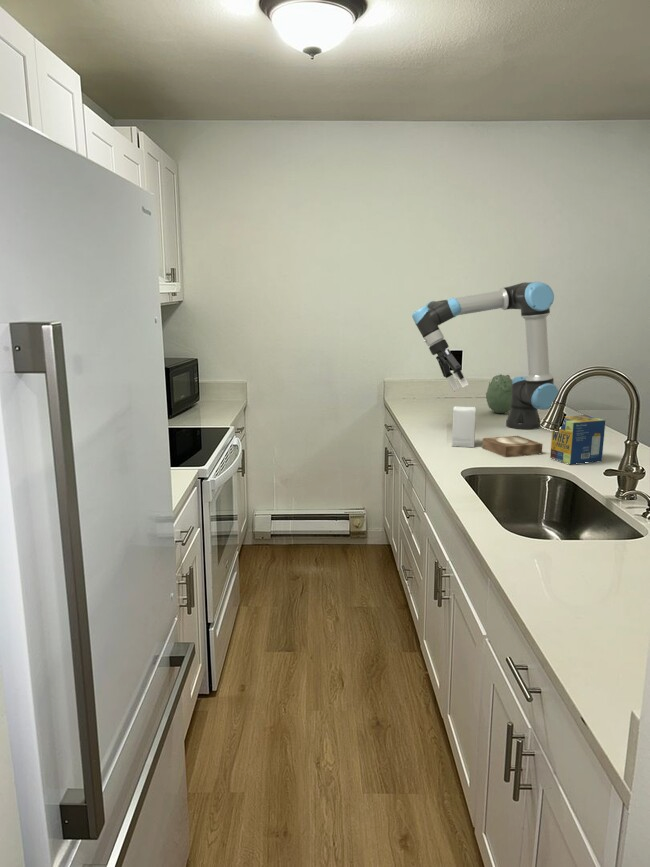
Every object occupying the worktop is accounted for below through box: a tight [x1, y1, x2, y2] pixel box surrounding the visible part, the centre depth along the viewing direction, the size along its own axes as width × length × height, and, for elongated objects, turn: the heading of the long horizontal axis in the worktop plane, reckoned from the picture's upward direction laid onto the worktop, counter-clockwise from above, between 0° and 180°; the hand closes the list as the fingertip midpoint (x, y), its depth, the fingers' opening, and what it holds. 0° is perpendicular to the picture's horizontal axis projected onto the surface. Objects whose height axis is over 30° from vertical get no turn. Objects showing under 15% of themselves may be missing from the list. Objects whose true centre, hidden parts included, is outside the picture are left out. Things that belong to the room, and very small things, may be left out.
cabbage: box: [485, 373, 513, 414], centre depth 346 cm, size 16×19×20 cm
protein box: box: [549, 414, 606, 465], centre depth 248 cm, size 10×15×16 cm
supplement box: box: [451, 406, 477, 448], centre depth 273 cm, size 9×9×15 cm
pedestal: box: [481, 435, 544, 458], centre depth 263 cm, size 16×16×4 cm
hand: (461, 388), depth 280 cm, fingers open, 13 cm apart
